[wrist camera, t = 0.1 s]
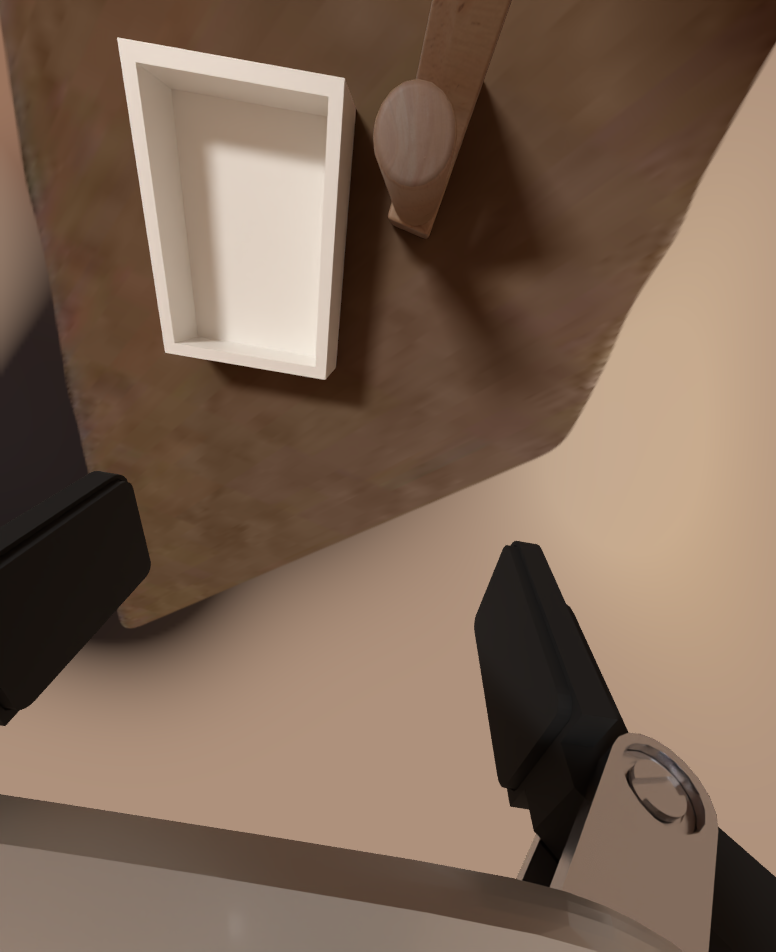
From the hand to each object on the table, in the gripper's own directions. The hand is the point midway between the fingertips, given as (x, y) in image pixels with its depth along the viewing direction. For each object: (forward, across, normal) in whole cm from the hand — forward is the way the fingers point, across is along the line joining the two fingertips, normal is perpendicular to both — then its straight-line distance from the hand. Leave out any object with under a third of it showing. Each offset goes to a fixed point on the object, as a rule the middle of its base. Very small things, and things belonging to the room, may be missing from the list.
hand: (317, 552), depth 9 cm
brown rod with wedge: (+31, -1, -15) cm, 35 cm away
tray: (+31, +13, -7) cm, 34 cm away
